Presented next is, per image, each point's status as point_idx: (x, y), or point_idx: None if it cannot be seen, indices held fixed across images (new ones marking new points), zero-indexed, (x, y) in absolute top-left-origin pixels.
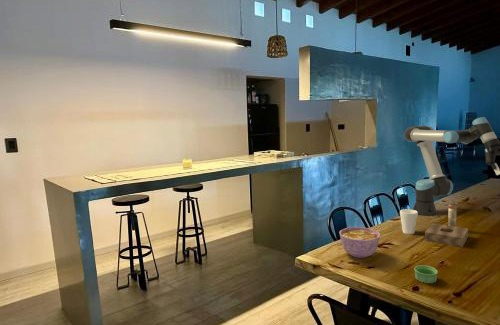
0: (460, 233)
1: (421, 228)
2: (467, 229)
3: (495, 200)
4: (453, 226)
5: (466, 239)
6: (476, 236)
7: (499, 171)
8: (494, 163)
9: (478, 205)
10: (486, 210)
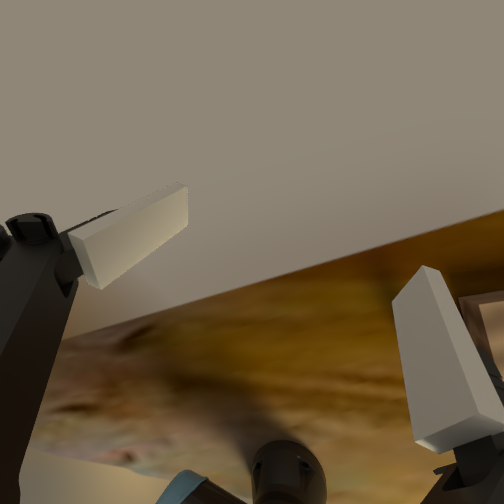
0: None
1: None
2: (493, 303)
3: None
4: (493, 349)
5: (492, 292)
6: None
7: (444, 290)
8: (499, 432)
9: (113, 366)
10: (148, 336)
